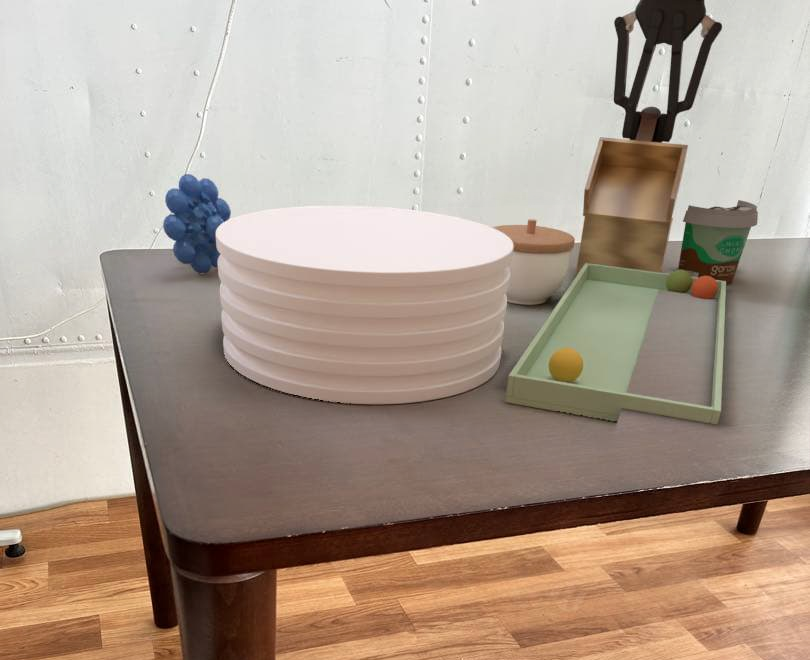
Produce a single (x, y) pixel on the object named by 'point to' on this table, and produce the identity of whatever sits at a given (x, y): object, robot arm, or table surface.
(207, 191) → the grapes
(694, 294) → the ball terracotta
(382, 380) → the plate stack
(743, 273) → the table surface
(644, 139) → the scoop
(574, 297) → the tray
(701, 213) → the food container
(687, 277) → the ball olive
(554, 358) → the ball mustard
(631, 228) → the riser
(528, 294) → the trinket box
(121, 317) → the table surface
